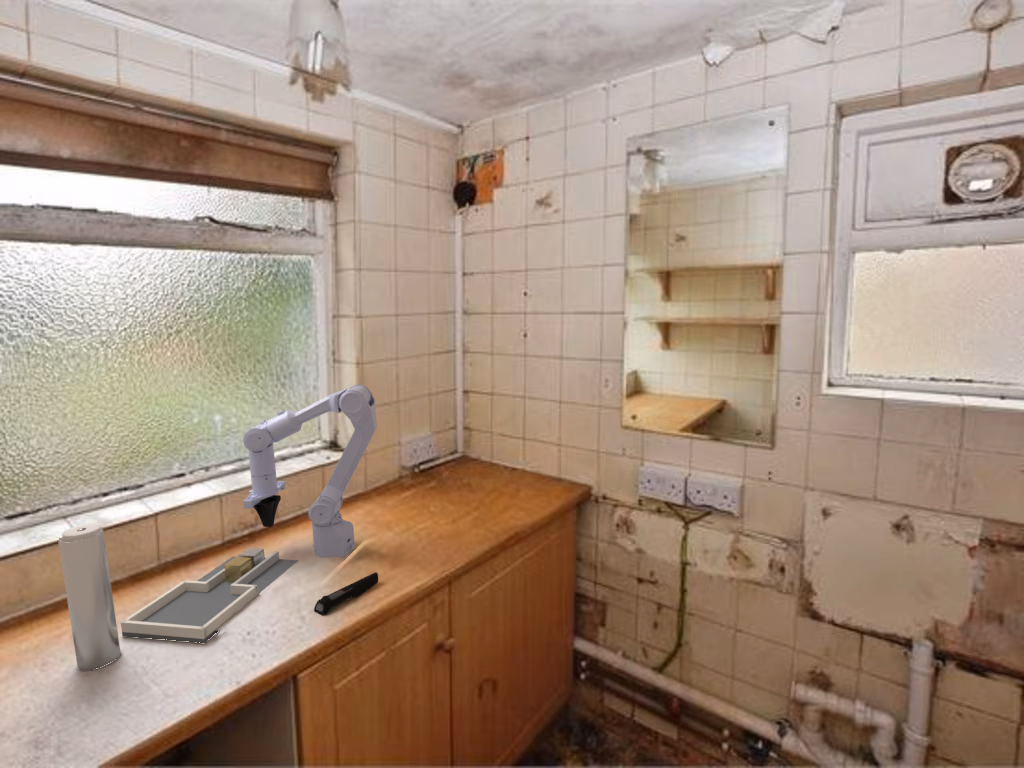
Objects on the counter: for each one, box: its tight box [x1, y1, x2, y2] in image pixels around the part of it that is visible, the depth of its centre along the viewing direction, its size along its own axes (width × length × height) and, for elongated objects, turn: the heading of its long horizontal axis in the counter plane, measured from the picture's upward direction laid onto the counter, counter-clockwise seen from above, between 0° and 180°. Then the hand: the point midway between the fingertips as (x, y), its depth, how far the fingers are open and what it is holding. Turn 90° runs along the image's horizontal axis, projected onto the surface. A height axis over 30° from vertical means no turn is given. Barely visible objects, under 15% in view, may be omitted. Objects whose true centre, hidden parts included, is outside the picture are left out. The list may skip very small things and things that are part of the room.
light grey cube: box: [237, 547, 266, 569], centre depth 136 cm, size 4×4×4 cm
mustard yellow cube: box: [224, 556, 252, 582], centre depth 131 cm, size 4×4×4 cm
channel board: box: [120, 551, 299, 644], centre depth 125 cm, size 18×33×3 cm, turn 170°
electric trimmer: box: [313, 571, 379, 616], centre depth 123 cm, size 4×16×3 cm, turn 143°
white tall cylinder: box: [57, 523, 122, 671], centre depth 102 cm, size 6×6×25 cm
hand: (268, 525), depth 143 cm, fingers closed
